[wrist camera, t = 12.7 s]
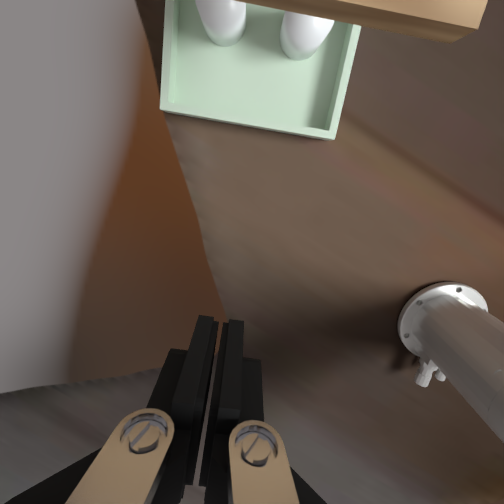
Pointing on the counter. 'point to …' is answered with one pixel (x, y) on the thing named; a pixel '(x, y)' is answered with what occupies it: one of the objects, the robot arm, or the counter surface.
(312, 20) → the grey rounded piece
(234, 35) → the white egg
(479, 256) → the counter surface
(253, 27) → the tray
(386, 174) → the counter surface
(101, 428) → the counter surface
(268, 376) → the counter surface
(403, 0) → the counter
